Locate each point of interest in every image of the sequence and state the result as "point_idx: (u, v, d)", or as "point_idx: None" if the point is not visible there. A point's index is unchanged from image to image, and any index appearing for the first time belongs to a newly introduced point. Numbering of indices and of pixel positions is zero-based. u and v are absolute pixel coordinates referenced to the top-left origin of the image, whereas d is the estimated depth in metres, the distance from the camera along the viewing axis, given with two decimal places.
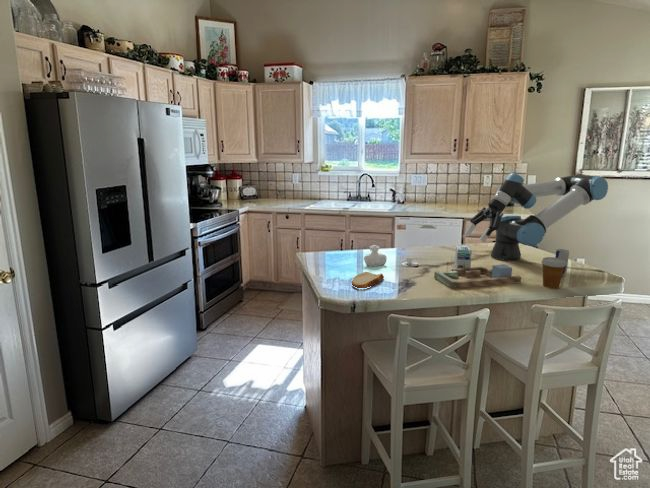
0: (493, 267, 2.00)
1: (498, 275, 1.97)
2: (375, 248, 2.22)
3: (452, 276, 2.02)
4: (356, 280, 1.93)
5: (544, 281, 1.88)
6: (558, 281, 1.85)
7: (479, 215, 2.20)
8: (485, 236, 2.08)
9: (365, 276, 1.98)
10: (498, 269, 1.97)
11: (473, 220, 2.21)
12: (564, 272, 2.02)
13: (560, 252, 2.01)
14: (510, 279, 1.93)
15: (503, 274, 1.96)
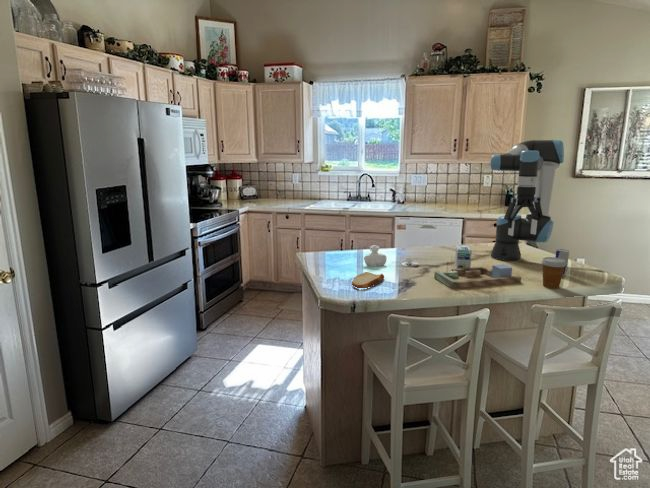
0: (493, 267, 2.00)
1: (498, 275, 1.97)
2: (375, 248, 2.22)
3: (452, 276, 2.02)
4: (356, 280, 1.93)
5: (544, 281, 1.88)
6: (558, 281, 1.85)
7: None
8: None
9: (365, 276, 1.98)
10: (498, 269, 1.97)
11: (512, 217, 1.93)
12: (564, 272, 2.02)
13: (560, 252, 2.01)
14: (510, 279, 1.93)
15: (503, 274, 1.96)
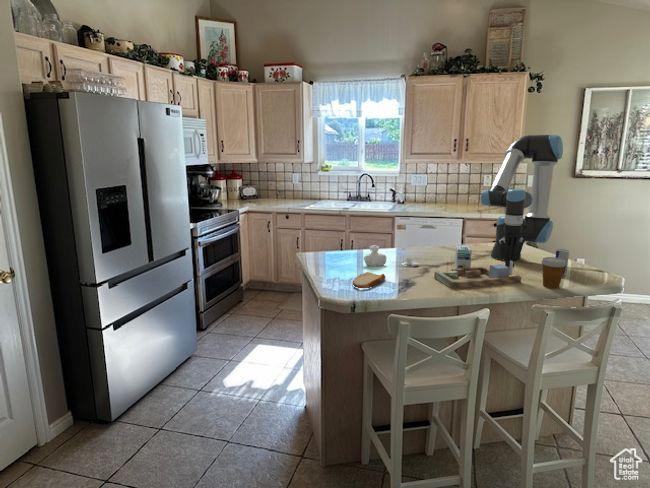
0: (490, 267, 2.00)
1: (495, 275, 1.97)
2: (375, 248, 2.22)
3: (452, 276, 2.02)
4: (357, 280, 1.93)
5: (544, 281, 1.88)
6: (558, 281, 1.85)
7: None
8: None
9: (367, 276, 1.98)
10: (495, 269, 1.96)
11: (509, 258, 1.97)
12: (564, 272, 2.02)
13: (560, 252, 2.01)
14: (510, 279, 1.93)
15: (500, 274, 1.96)
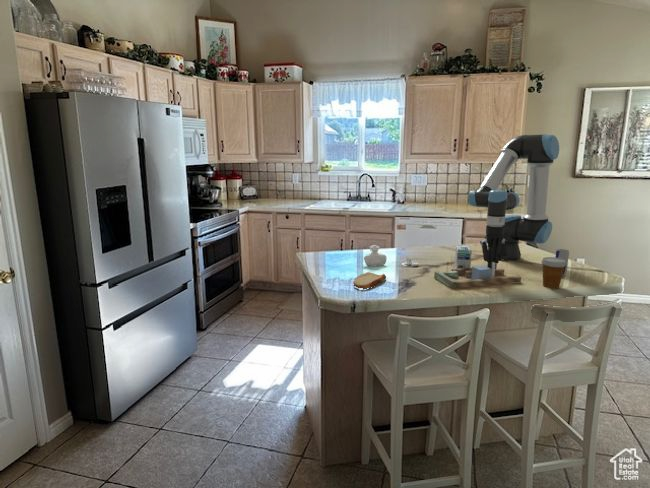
0: (473, 268, 1.98)
1: (477, 277, 1.94)
2: (375, 248, 2.22)
3: (452, 276, 2.02)
4: (358, 280, 1.93)
5: (544, 281, 1.88)
6: (558, 281, 1.85)
7: None
8: None
9: (367, 276, 1.98)
10: (477, 270, 1.94)
11: (491, 260, 1.95)
12: (564, 272, 2.02)
13: (560, 252, 2.01)
14: (510, 279, 1.93)
15: (482, 275, 1.94)
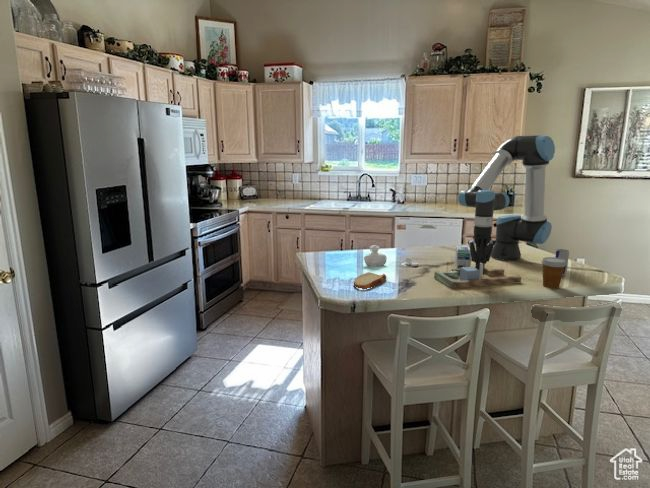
0: (461, 269, 1.96)
1: (465, 278, 1.93)
2: (375, 248, 2.22)
3: (452, 276, 2.02)
4: (358, 280, 1.93)
5: (544, 281, 1.88)
6: (558, 281, 1.85)
7: None
8: None
9: (368, 276, 1.98)
10: (465, 272, 1.93)
11: (478, 260, 1.93)
12: (564, 272, 2.02)
13: (560, 252, 2.01)
14: (510, 279, 1.93)
15: (470, 276, 1.92)
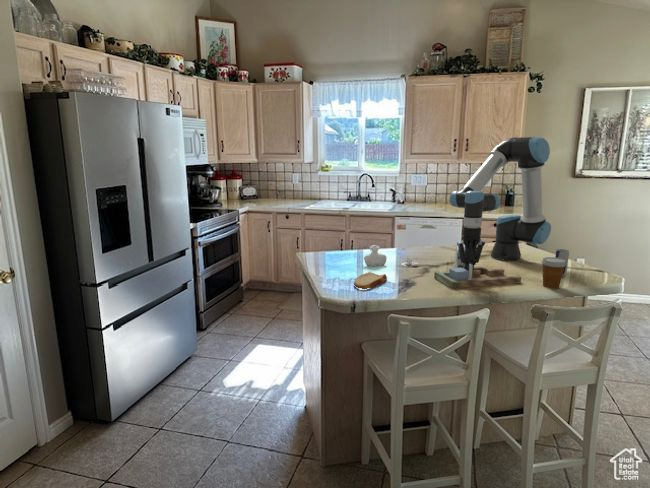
0: (450, 270, 1.95)
1: (454, 279, 1.92)
2: (375, 248, 2.22)
3: None
4: (359, 280, 1.93)
5: (544, 281, 1.88)
6: (558, 281, 1.85)
7: None
8: None
9: (368, 276, 1.98)
10: (454, 272, 1.91)
11: (468, 261, 1.92)
12: (564, 272, 2.02)
13: (560, 252, 2.01)
14: (510, 279, 1.93)
15: (459, 277, 1.91)
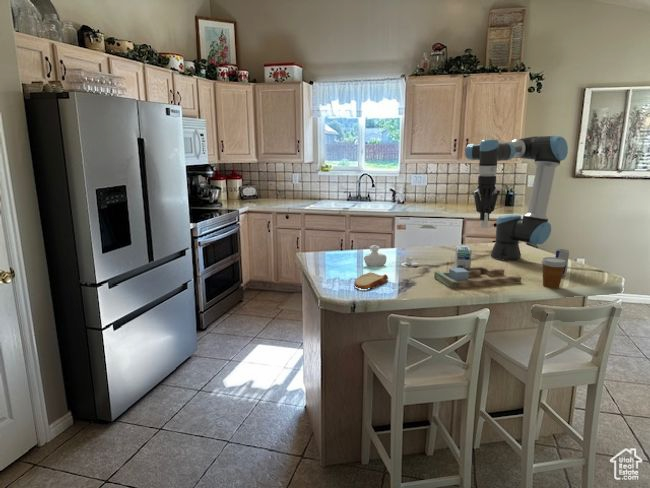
0: (450, 271, 1.95)
1: (454, 279, 1.92)
2: (375, 248, 2.22)
3: None
4: (359, 280, 1.92)
5: (544, 281, 1.88)
6: (558, 281, 1.85)
7: None
8: None
9: (369, 277, 1.97)
10: (454, 273, 1.91)
11: (483, 210, 1.96)
12: (564, 272, 2.02)
13: (560, 252, 2.01)
14: (510, 279, 1.93)
15: (459, 278, 1.91)
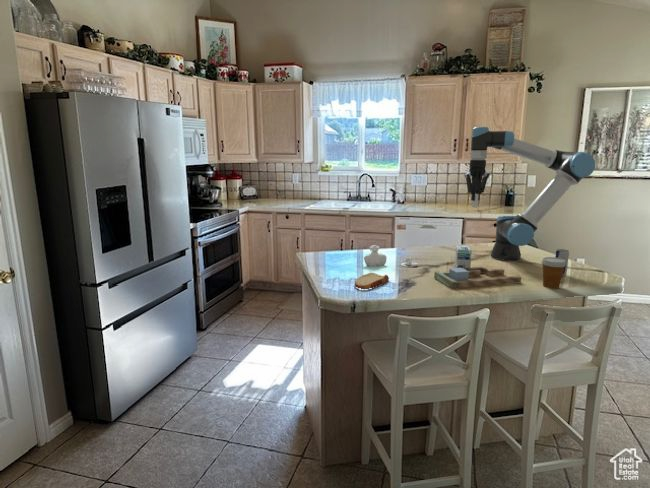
0: (450, 271, 1.95)
1: (454, 279, 1.92)
2: (375, 248, 2.22)
3: None
4: (360, 281, 1.92)
5: (544, 281, 1.88)
6: (558, 281, 1.85)
7: (470, 182, 2.15)
8: None
9: (370, 277, 1.97)
10: (454, 273, 1.91)
11: (474, 191, 2.16)
12: (564, 272, 2.02)
13: (560, 252, 2.01)
14: (510, 279, 1.93)
15: (459, 277, 1.91)
